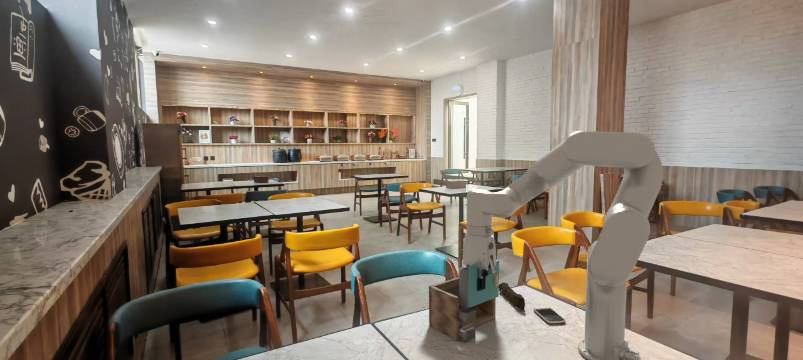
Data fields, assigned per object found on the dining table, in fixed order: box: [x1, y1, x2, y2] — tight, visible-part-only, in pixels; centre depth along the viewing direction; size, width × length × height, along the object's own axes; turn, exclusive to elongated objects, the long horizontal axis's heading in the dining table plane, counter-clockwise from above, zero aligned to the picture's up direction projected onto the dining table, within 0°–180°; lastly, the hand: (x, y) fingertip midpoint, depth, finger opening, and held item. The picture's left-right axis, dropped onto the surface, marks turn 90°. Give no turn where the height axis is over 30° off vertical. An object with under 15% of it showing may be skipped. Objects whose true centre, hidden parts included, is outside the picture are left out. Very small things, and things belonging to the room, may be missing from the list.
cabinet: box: [428, 276, 497, 343], centre depth 123 cm, size 14×21×13 cm
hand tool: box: [499, 282, 526, 312], centre depth 141 cm, size 19×4×5 cm, turn 4°
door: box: [458, 259, 500, 310], centre depth 119 cm, size 3×16×12 cm, turn 127°
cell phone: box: [533, 307, 567, 326], centre depth 128 cm, size 6×11×1 cm, turn 8°
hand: (477, 288), depth 120 cm, fingers closed on door, 2 cm apart
